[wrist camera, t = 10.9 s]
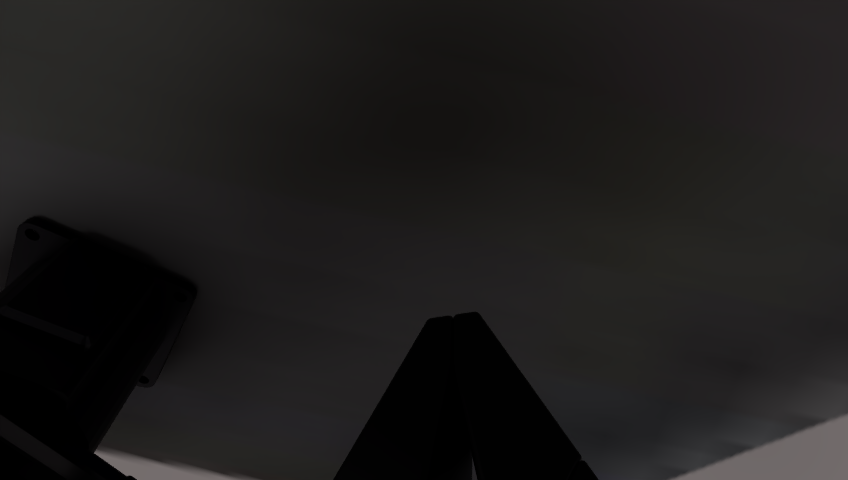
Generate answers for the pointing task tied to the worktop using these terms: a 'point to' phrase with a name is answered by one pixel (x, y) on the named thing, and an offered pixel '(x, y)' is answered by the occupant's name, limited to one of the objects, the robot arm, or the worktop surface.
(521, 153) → the worktop surface
